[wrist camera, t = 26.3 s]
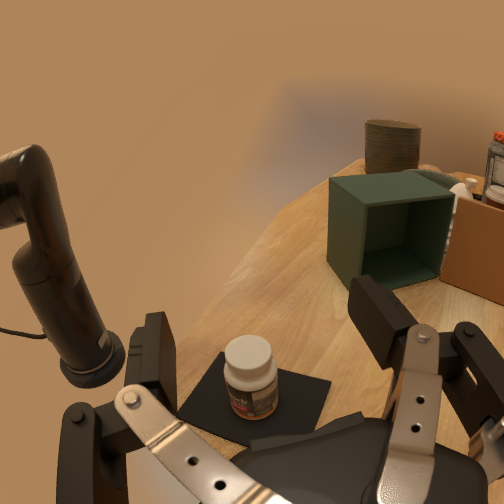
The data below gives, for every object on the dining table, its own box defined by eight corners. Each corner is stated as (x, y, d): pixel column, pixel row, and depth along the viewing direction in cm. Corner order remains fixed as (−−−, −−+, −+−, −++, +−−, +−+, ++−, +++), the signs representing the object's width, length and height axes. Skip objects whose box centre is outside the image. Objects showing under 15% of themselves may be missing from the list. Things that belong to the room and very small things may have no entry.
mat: (175, 417, 33) (174, 415, 33) (221, 353, 43) (220, 351, 42) (300, 464, 27) (300, 462, 27) (331, 383, 36) (331, 381, 36)
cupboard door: (446, 265, 55) (462, 188, 46) (522, 295, 43) (549, 219, 34) (439, 280, 51) (458, 197, 43) (521, 313, 39) (553, 231, 31)
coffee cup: (494, 239, 62) (504, 197, 56) (472, 224, 69) (480, 184, 63) (510, 235, 63) (520, 195, 57) (489, 221, 71) (497, 182, 65)
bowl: (442, 200, 85) (446, 170, 80) (474, 229, 67) (481, 195, 62) (386, 198, 87) (388, 167, 82) (409, 230, 69) (415, 192, 64)
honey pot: (480, 256, 56) (497, 181, 47) (461, 278, 51) (482, 193, 42) (437, 235, 66) (448, 164, 57) (412, 253, 60) (424, 172, 51)
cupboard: (437, 277, 52) (455, 193, 44) (354, 299, 50) (364, 203, 41) (403, 245, 63) (413, 171, 55) (326, 260, 61) (328, 177, 53)
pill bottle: (222, 400, 35) (207, 348, 30) (258, 376, 38) (252, 322, 33) (251, 430, 31) (242, 383, 26) (288, 403, 34) (288, 351, 29)
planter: (412, 186, 96) (416, 130, 86) (355, 175, 109) (356, 122, 99) (422, 172, 110) (425, 125, 100) (373, 163, 123) (374, 117, 113)
